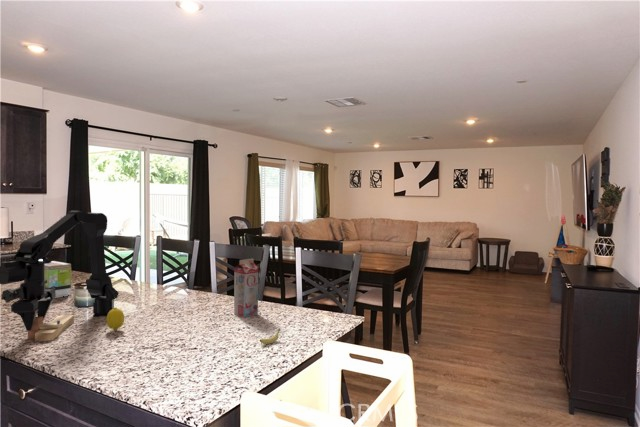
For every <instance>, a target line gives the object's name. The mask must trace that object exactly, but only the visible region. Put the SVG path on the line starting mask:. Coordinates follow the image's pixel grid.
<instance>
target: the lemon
mask: <svg viewBox="0 0 640 427" xmlns="http://www.w3.org/2000/svg"><path fill="white" fill-rule="evenodd" d="M124 322H125V314H124V311H122V310H121V309H120V308H117V307H114V309H112V310H110V311H109V313H108V315H107V316H106V324H107V327H108V328H109V329H112V330H113V331H117V330H119V329H120V328H122V326H123V325H124Z"/></svg>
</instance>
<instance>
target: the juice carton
mask: <svg viewBox="0 0 640 427" xmlns="http://www.w3.org/2000/svg"><path fill="white" fill-rule="evenodd" d="M254 261H255V260H254V258H246V259H239V263H238V264H237V265H236V266H234V272H233V273H234V282H233V283H234V285H233V286H234V289H233V290H234V291H233V292H234V293H233V295H234V296H233V300H234V301H233V315H236V316H239V317H241V318H248V317H253V316H256V315H259V266H257V264H256V263H255V262H254Z"/></svg>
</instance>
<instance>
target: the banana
mask: <svg viewBox="0 0 640 427" xmlns="http://www.w3.org/2000/svg"><path fill="white" fill-rule="evenodd" d="M280 331H281V328H280V327H279V328H278V330H277V333H275V334H274V335H273V336H271V337H269V338H261V339H259V342H260V343H261V344H263V345H269V344H272V343H274V342H275V343H276V342H277V340H278V339H279V333H280Z"/></svg>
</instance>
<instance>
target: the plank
mask: <svg viewBox="0 0 640 427" xmlns="http://www.w3.org/2000/svg"><path fill="white" fill-rule="evenodd" d="M58 320H60V323H62V327H60V328H49V329H40V330H39V331H38V332H36V333H35V338H34V341H35V342H44V341H54V340H55V339H56V338H57V337H58V336H60V334H62V333H63V332H64V331H65V330H66V329H68V326H69V325H70V326H71V325H72V324H74V322H75V315H74V314H67V315H65V314H64V315H63V314H62V315H58V316H56V317H55V318H53V319H52V320H51V321H50V322H49V323H57V321H58ZM70 326H69V327H70Z"/></svg>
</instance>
